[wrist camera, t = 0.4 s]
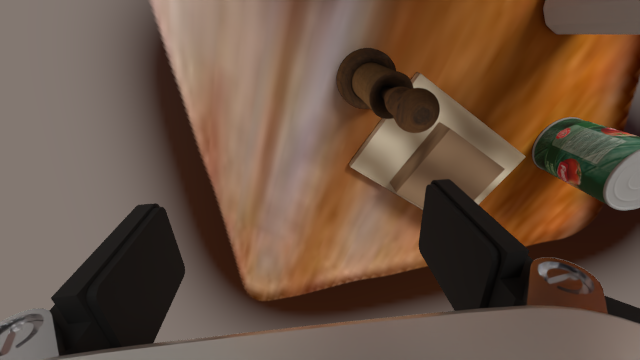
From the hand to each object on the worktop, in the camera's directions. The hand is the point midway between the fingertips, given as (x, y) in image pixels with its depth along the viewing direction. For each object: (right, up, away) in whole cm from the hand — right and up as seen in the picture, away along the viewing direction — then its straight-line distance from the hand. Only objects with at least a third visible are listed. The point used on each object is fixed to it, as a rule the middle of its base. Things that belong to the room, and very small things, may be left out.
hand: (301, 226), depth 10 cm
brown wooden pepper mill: (+6, +14, +24) cm, 29 cm away
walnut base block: (+17, +3, +29) cm, 34 cm away
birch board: (+17, +5, +30) cm, 34 cm away
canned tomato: (+34, +7, +30) cm, 46 cm away
